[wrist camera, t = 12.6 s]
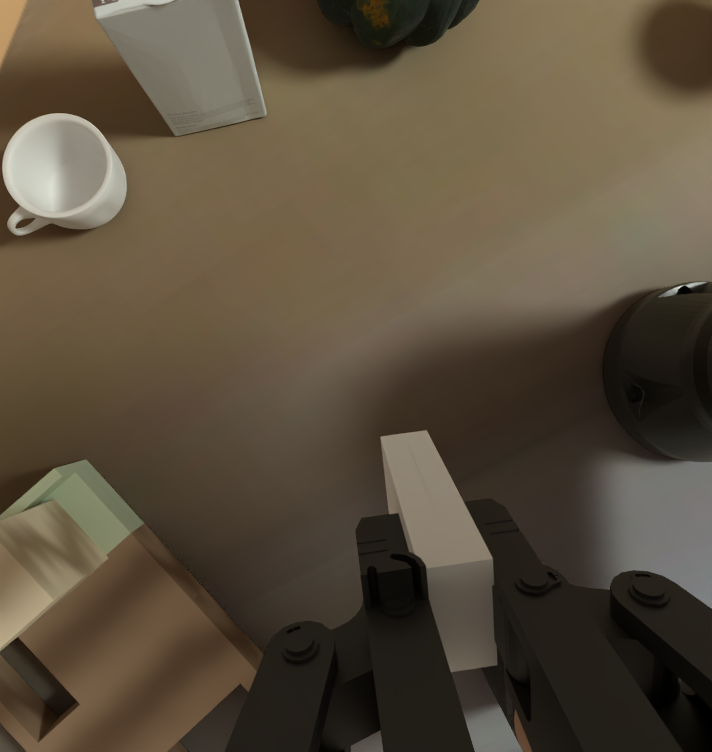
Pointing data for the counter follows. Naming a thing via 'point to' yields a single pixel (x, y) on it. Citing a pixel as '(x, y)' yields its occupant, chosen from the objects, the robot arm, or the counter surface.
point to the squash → (397, 19)
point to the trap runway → (129, 658)
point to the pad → (83, 503)
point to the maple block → (40, 565)
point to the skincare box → (187, 59)
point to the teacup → (62, 174)
